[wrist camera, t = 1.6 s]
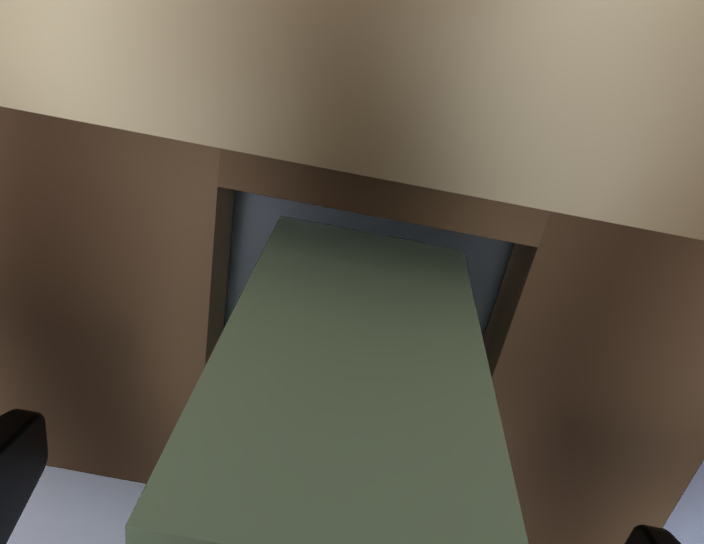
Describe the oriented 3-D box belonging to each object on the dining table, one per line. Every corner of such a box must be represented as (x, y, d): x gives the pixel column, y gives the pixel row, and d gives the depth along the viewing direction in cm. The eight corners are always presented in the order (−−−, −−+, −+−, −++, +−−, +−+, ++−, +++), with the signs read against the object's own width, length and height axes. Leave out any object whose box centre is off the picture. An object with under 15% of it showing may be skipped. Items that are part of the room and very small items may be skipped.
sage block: (463, 250, 13) (541, 601, 6) (421, 395, 15) (441, 799, 7) (280, 216, 13) (125, 525, 6) (261, 365, 15) (126, 744, 7)
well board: (1192, -527, 7) (1368, -638, 6) (615, 523, 16) (634, 573, 15) (-97, -793, 7) (-213, -969, 6) (28, 414, 16) (-6, 455, 14)
